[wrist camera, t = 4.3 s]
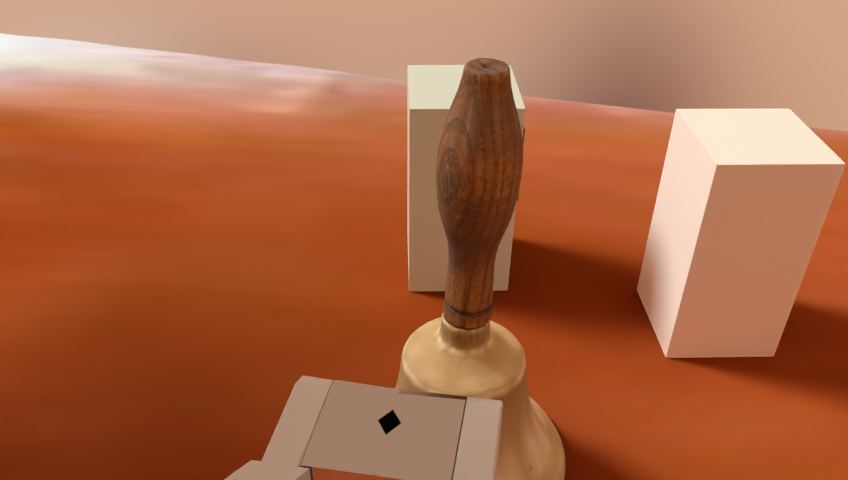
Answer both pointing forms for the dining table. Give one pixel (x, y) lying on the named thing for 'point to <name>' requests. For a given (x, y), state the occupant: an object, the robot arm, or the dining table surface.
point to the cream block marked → (734, 229)
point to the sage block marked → (425, 229)
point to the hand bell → (481, 275)
